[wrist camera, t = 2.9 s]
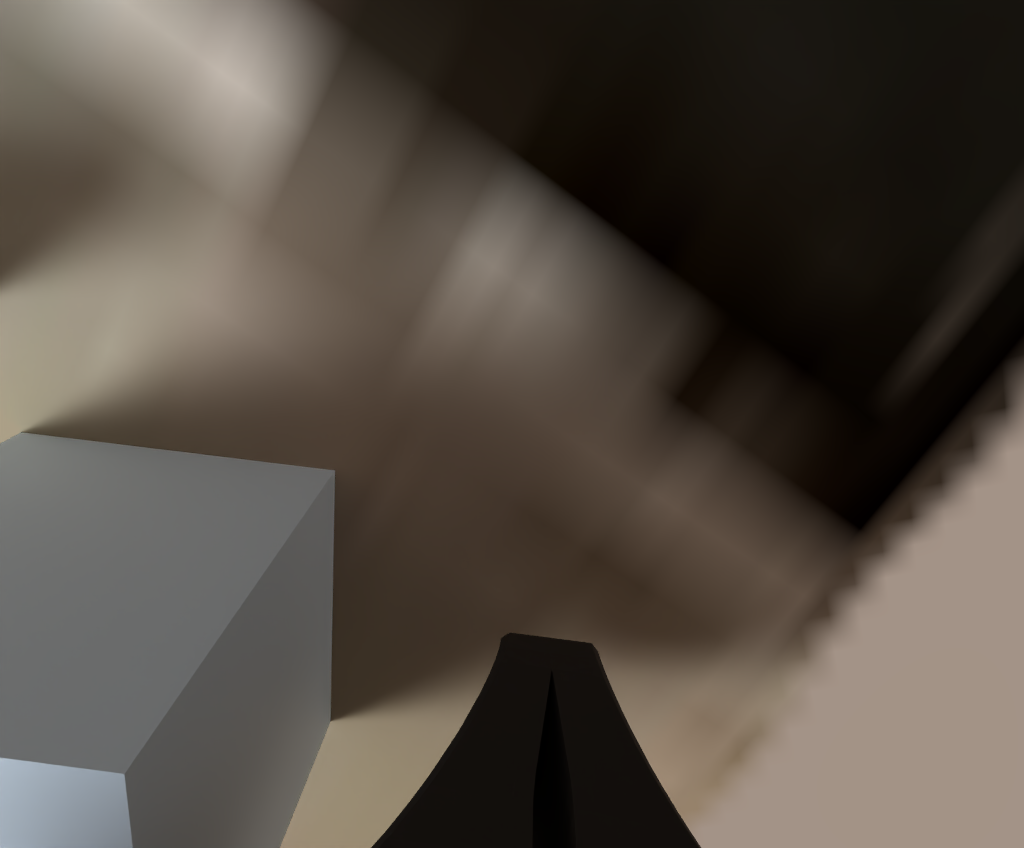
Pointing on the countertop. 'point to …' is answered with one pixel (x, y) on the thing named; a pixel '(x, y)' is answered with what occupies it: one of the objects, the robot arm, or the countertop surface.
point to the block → (159, 644)
